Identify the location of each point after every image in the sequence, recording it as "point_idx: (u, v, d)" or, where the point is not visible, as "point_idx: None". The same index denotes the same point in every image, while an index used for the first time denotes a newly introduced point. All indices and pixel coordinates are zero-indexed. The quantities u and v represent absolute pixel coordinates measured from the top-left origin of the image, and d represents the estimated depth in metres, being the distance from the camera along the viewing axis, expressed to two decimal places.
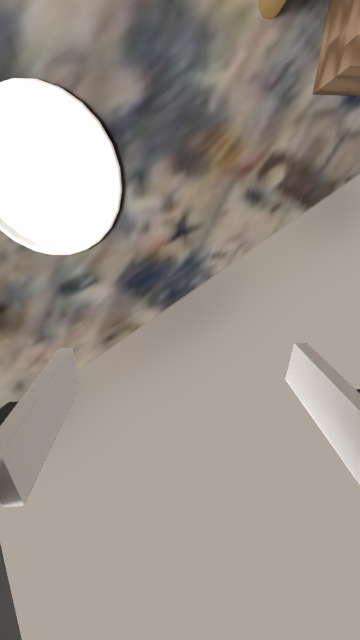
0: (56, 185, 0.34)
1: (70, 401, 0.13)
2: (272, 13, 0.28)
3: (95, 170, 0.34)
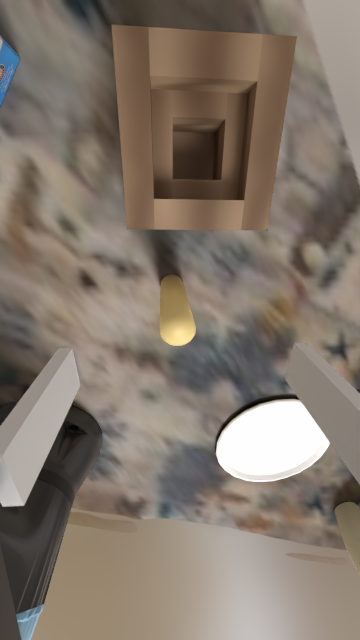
0: (278, 437, 0.43)
1: (70, 401, 0.13)
2: None
3: (273, 413, 0.40)
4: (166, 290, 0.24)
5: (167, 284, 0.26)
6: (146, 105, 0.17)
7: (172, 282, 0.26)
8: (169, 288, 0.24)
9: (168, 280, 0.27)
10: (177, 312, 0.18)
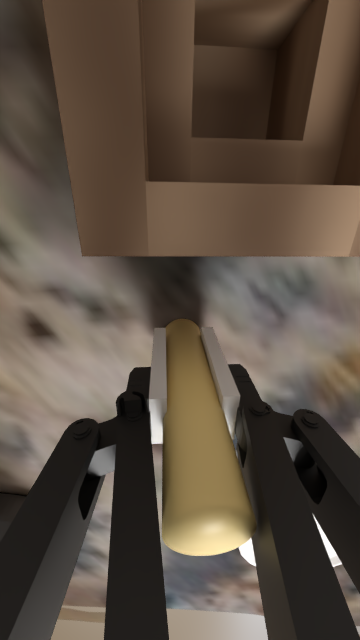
0: None
1: None
2: None
3: None
4: (174, 368, 0.12)
5: (175, 348, 0.14)
6: None
7: (183, 343, 0.14)
8: (180, 362, 0.13)
9: (176, 336, 0.15)
10: (207, 492, 0.07)
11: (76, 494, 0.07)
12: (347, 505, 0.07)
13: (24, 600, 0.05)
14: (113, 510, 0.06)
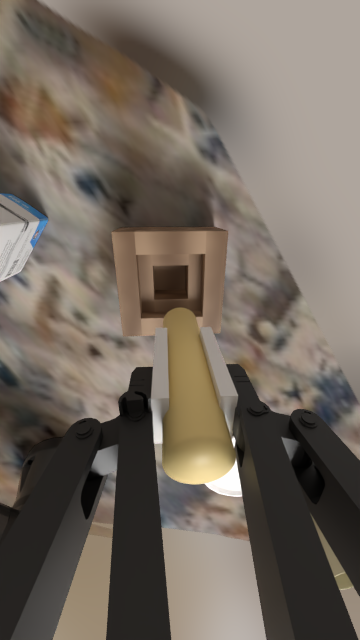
0: None
1: None
2: None
3: None
4: (172, 346, 0.14)
5: (173, 331, 0.16)
6: (134, 269, 0.26)
7: (181, 327, 0.16)
8: (177, 341, 0.15)
9: (174, 321, 0.17)
10: (197, 428, 0.09)
11: (79, 494, 0.07)
12: (345, 505, 0.07)
13: (27, 599, 0.05)
14: (115, 509, 0.06)
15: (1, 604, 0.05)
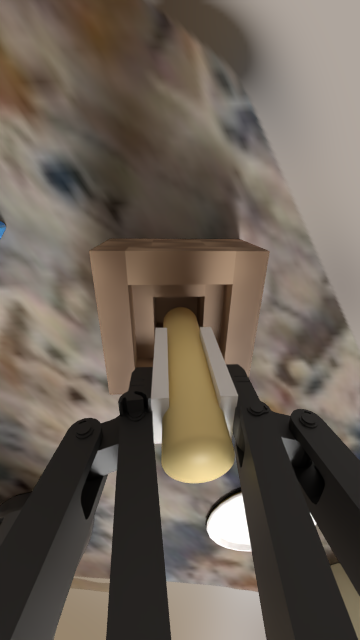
0: None
1: None
2: None
3: None
4: (172, 346, 0.14)
5: (173, 330, 0.16)
6: (125, 306, 0.17)
7: (181, 326, 0.16)
8: (177, 341, 0.15)
9: (175, 321, 0.17)
10: (196, 427, 0.09)
11: (79, 494, 0.07)
12: (345, 505, 0.07)
13: (27, 599, 0.05)
14: (115, 509, 0.06)
15: (1, 604, 0.05)
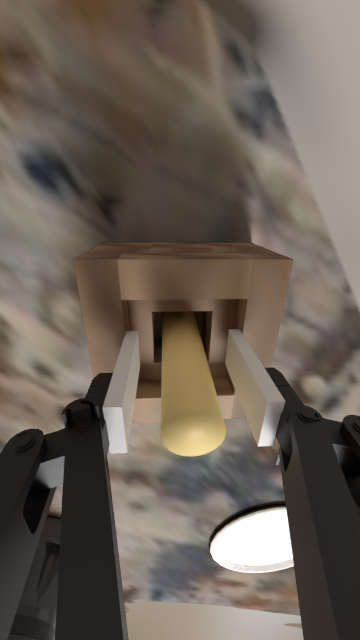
0: (276, 534, 0.40)
1: (137, 377, 0.15)
2: None
3: (271, 516, 0.38)
4: (170, 337, 0.16)
5: (172, 323, 0.17)
6: (118, 324, 0.14)
7: (178, 319, 0.17)
8: (175, 332, 0.16)
9: (173, 314, 0.18)
10: (191, 404, 0.10)
11: (20, 508, 0.07)
12: None
13: None
14: (62, 529, 0.06)
15: None
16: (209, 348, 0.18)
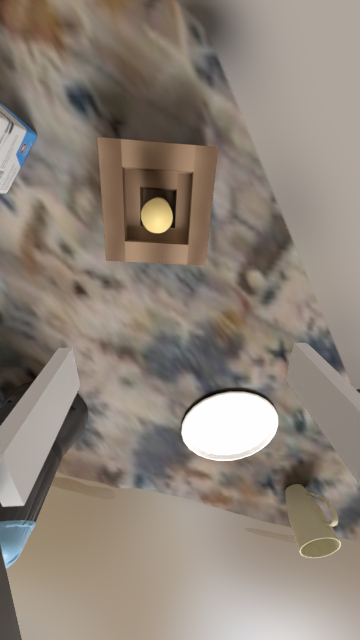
0: (234, 423, 0.51)
1: (70, 401, 0.13)
2: None
3: (229, 403, 0.49)
4: None
5: None
6: (119, 183, 0.25)
7: (157, 197, 0.28)
8: (153, 198, 0.27)
9: None
10: (155, 199, 0.21)
11: None
12: None
13: None
14: None
15: None
16: None
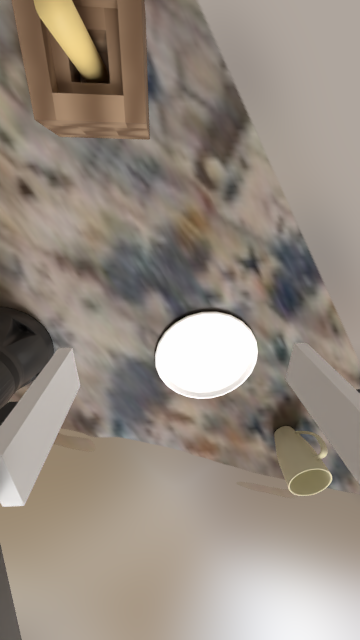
0: (211, 352, 0.48)
1: (70, 401, 0.13)
2: (106, 70, 0.28)
3: (202, 327, 0.46)
4: None
5: None
6: (35, 11, 0.23)
7: None
8: None
9: None
10: None
11: None
12: None
13: None
14: None
15: None
16: (109, 72, 0.26)
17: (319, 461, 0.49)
